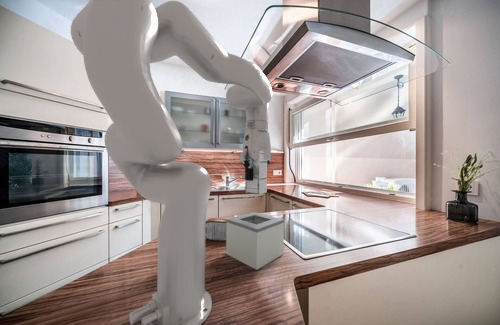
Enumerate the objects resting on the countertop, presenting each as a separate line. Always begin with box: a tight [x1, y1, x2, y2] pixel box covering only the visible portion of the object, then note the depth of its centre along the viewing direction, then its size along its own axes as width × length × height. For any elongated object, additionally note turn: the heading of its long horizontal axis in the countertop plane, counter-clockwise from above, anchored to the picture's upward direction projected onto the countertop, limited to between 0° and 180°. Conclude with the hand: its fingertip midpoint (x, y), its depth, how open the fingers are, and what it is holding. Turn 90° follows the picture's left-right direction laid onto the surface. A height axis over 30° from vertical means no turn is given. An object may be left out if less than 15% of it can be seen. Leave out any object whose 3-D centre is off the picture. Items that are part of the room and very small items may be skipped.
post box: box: [225, 211, 285, 271], centre depth 67 cm, size 14×14×12 cm
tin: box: [205, 217, 228, 242], centre depth 79 cm, size 15×3×8 cm, turn 84°
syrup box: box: [244, 151, 268, 195], centre depth 67 cm, size 6×6×14 cm
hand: (256, 179), depth 67 cm, fingers closed on syrup box, 6 cm apart
